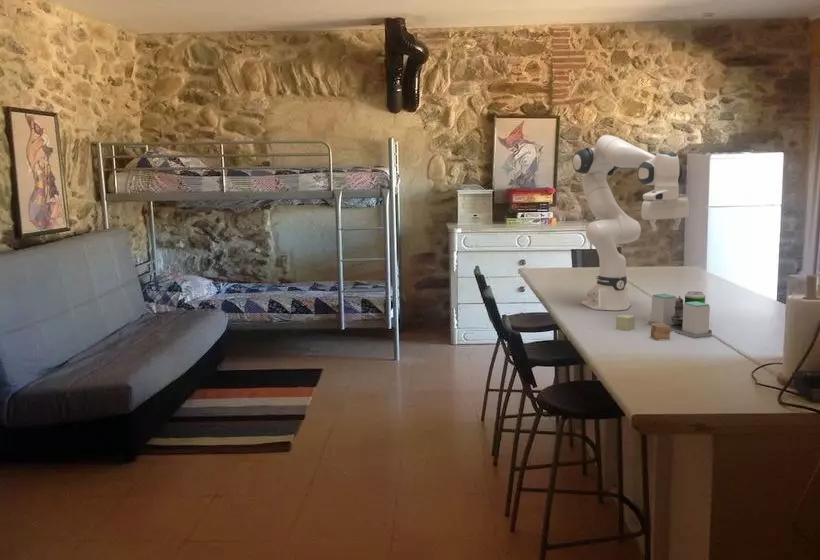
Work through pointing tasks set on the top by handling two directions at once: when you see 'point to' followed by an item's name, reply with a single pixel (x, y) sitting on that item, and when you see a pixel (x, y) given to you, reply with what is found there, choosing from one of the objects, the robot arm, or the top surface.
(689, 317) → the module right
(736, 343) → the top surface
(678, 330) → the rail
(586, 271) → the top surface
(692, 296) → the soda can
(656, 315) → the block
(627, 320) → the block olive
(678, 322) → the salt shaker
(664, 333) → the block walnut
